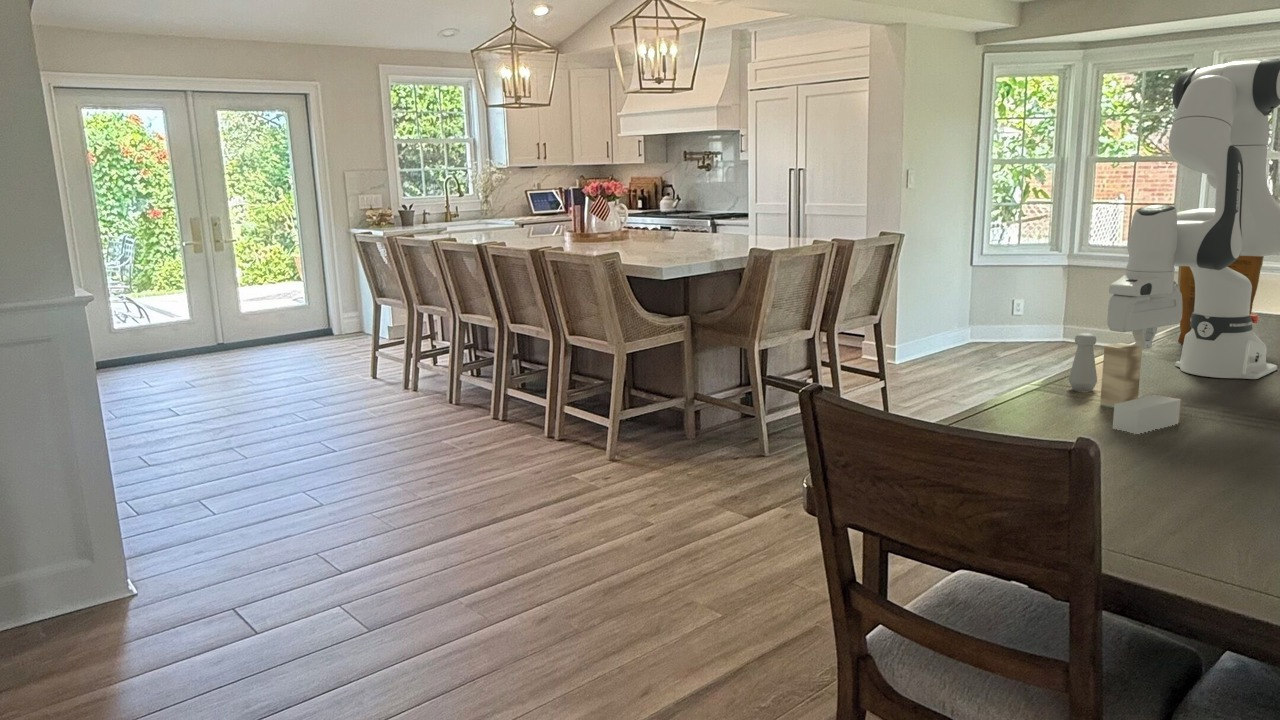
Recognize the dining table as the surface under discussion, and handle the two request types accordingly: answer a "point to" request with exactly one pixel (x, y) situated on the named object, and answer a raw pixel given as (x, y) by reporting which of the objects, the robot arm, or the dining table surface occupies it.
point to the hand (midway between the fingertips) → (1143, 348)
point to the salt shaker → (1084, 364)
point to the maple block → (1120, 373)
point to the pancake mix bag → (1186, 283)
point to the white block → (1146, 414)
